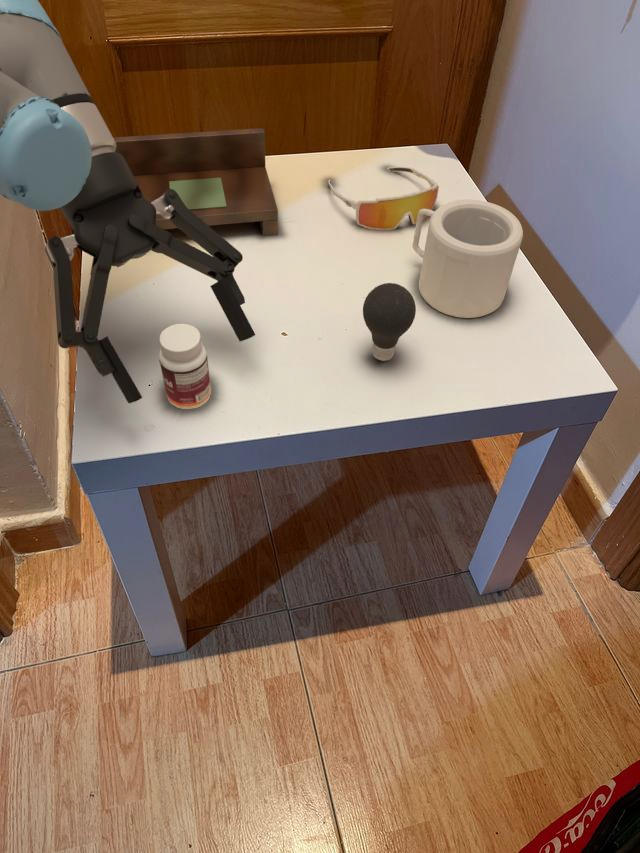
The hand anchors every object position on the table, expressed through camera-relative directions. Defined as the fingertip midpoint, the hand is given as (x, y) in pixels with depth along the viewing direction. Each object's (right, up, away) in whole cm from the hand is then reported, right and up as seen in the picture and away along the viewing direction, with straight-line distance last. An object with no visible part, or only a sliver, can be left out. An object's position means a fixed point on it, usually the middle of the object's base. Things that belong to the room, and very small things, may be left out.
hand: (194, 368), depth 69 cm
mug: (+29, +12, +18) cm, 36 cm away
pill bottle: (-1, -3, +5) cm, 6 cm away
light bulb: (+20, +2, +9) cm, 22 cm away
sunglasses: (+22, +26, +30) cm, 45 cm away
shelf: (-4, +23, +26) cm, 35 cm away
